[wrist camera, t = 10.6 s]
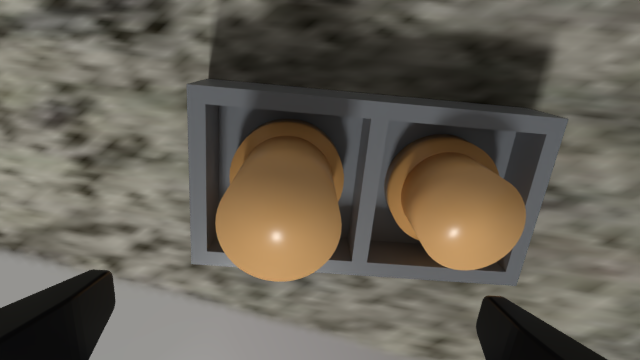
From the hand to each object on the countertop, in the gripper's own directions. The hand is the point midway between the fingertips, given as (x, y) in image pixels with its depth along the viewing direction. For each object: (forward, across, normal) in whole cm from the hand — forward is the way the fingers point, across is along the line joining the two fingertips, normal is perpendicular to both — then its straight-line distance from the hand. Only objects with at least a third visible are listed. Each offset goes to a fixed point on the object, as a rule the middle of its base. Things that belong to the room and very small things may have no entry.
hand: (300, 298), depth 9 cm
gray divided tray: (+13, -3, +1) cm, 13 cm away
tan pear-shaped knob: (+12, +1, +1) cm, 12 cm away
